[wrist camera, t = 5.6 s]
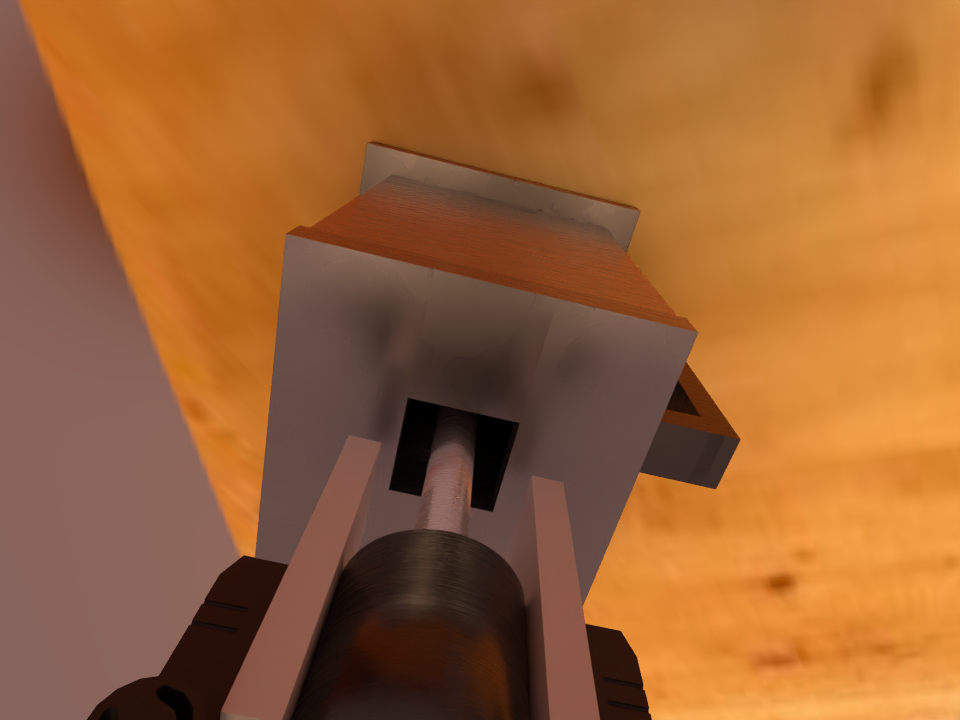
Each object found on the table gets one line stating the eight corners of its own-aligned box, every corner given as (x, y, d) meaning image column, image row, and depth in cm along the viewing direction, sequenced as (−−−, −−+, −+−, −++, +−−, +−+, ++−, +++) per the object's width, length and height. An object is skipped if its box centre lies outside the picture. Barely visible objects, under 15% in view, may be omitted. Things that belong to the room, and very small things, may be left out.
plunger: (580, 250, 25) (877, 820, 5) (533, 404, 28) (602, 1124, 8) (404, 207, 25) (-14, 651, 5) (376, 368, 28) (52, 1042, 8)
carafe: (699, 223, 26) (874, 332, 14) (613, 443, 31) (685, 669, 19) (372, 141, 25) (245, 179, 13) (336, 381, 30) (220, 575, 18)
